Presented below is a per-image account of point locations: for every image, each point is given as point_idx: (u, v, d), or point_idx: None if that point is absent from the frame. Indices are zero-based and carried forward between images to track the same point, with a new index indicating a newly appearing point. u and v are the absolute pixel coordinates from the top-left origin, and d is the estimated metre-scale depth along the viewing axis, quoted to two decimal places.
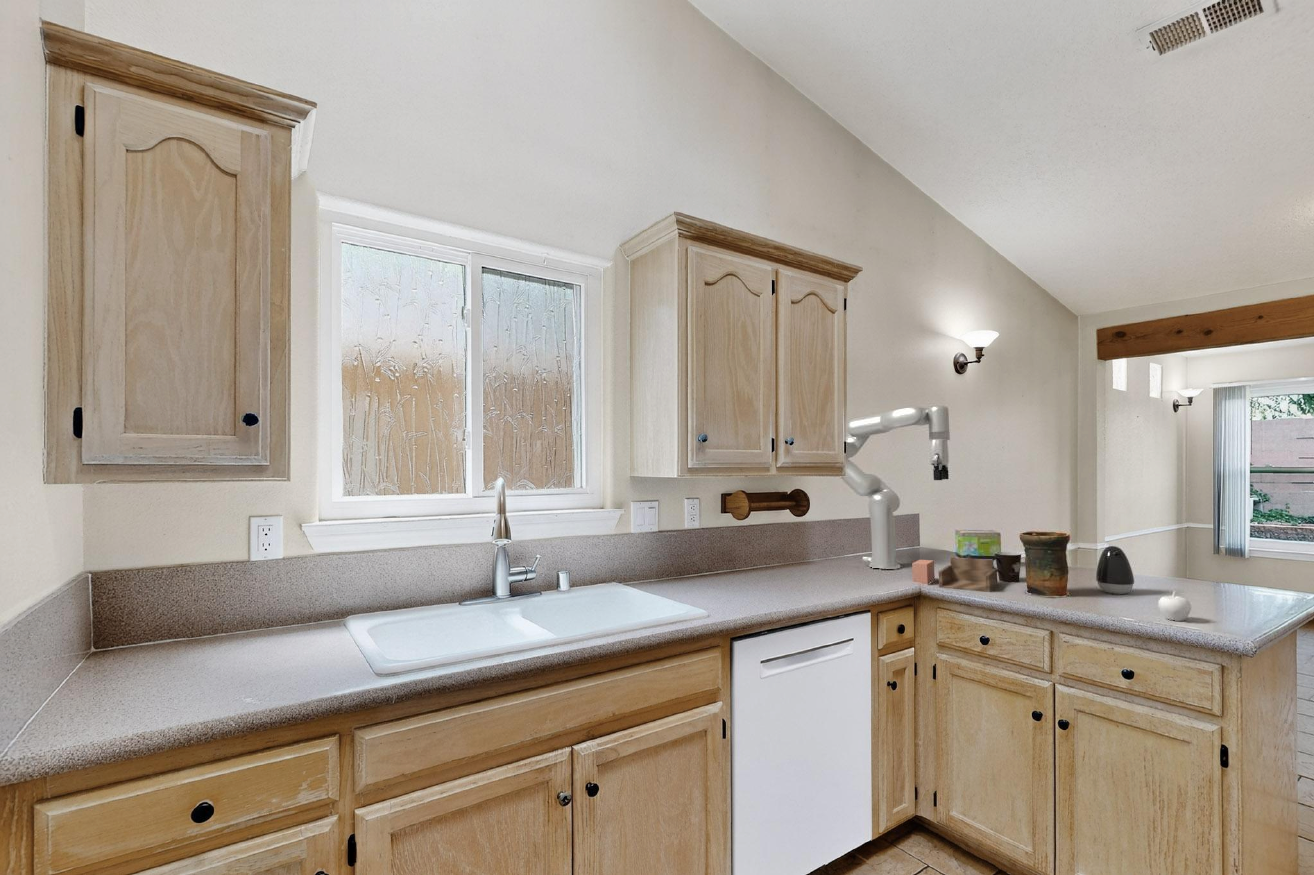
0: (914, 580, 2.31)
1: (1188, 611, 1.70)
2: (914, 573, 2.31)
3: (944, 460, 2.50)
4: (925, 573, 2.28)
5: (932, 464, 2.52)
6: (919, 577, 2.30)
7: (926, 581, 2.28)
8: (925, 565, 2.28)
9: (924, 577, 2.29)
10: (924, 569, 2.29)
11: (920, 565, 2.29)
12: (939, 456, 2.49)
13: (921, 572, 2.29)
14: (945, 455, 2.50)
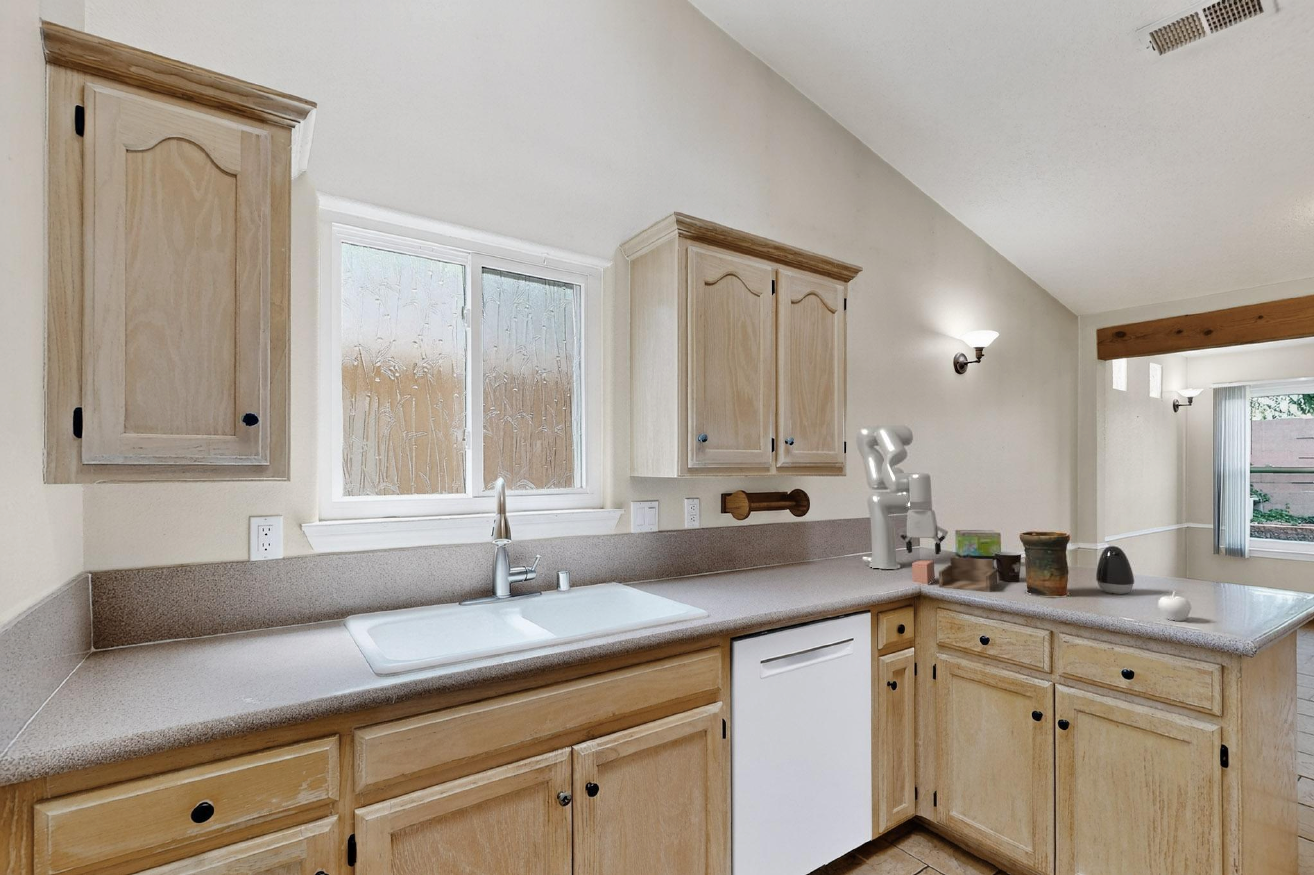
0: (914, 580, 2.31)
1: (1188, 611, 1.70)
2: (914, 573, 2.31)
3: None
4: (925, 573, 2.28)
5: None
6: (919, 577, 2.30)
7: (926, 581, 2.28)
8: (925, 565, 2.28)
9: (924, 577, 2.29)
10: (924, 569, 2.29)
11: (920, 565, 2.29)
12: None
13: (921, 572, 2.29)
14: None
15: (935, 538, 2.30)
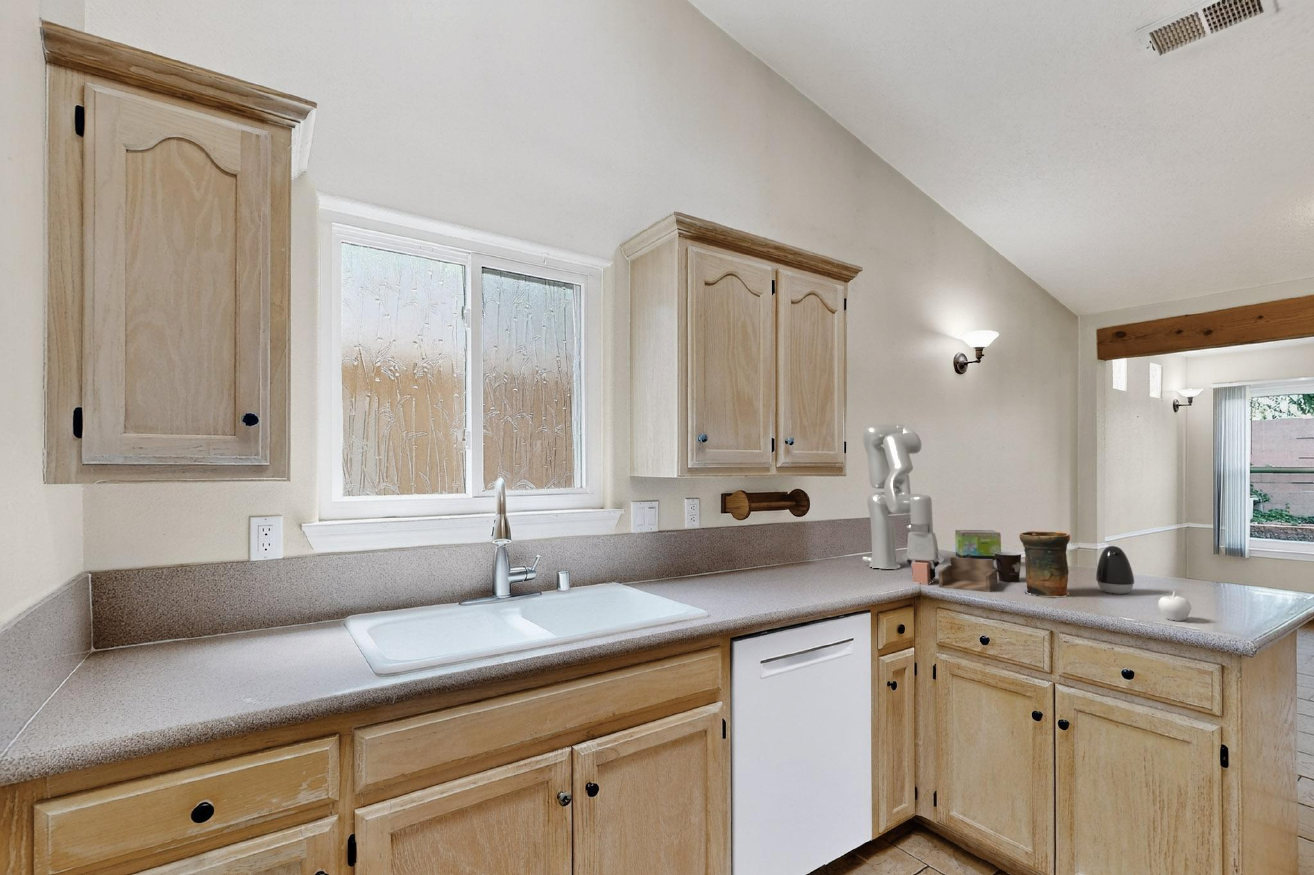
0: (914, 580, 2.31)
1: (1188, 611, 1.70)
2: (914, 573, 2.31)
3: None
4: (925, 572, 2.28)
5: (928, 560, 2.30)
6: (919, 577, 2.30)
7: (926, 581, 2.28)
8: (925, 565, 2.28)
9: (924, 577, 2.29)
10: (924, 569, 2.29)
11: (920, 565, 2.29)
12: None
13: (921, 572, 2.29)
14: None
15: (931, 563, 2.31)
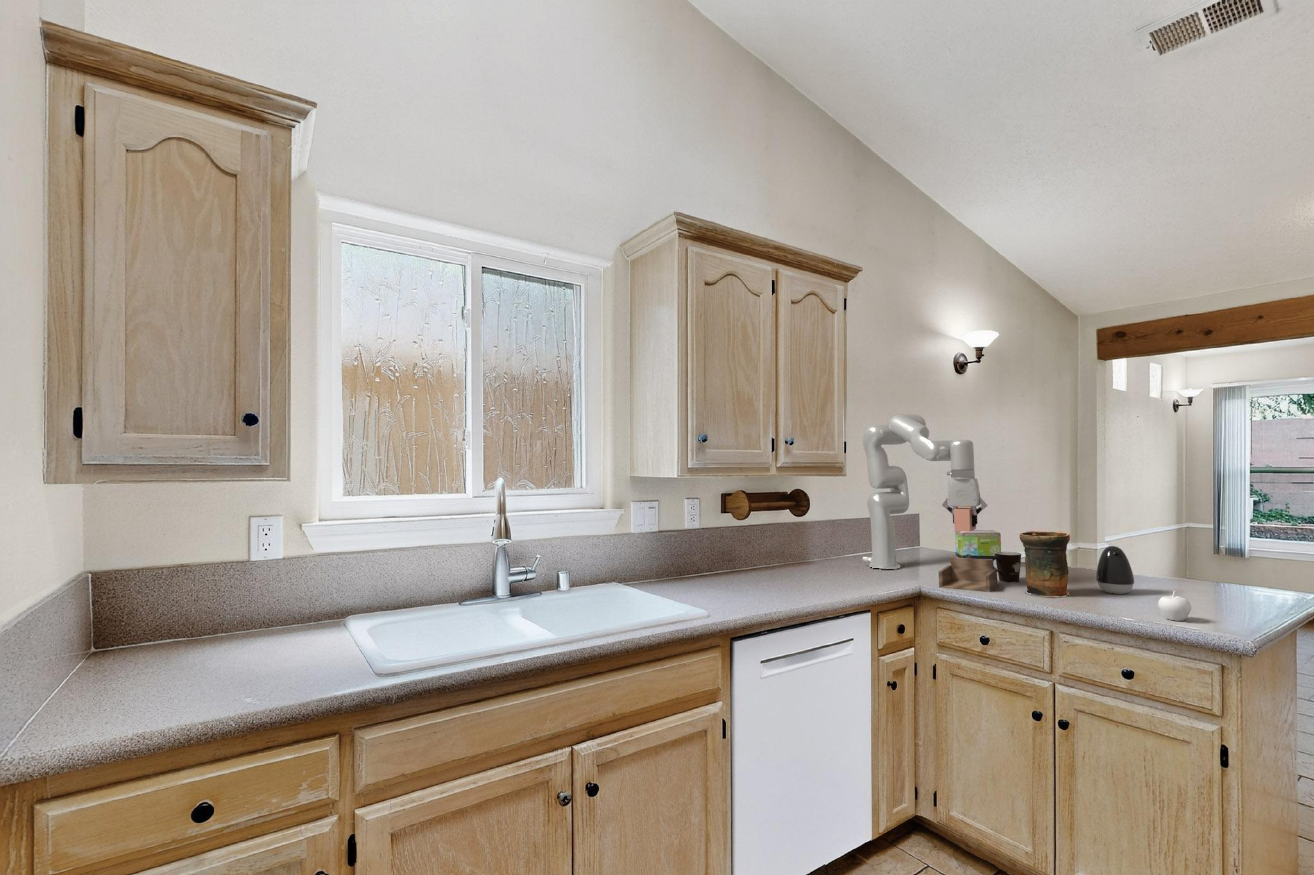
0: (955, 527, 2.22)
1: (1188, 611, 1.70)
2: (955, 519, 2.22)
3: None
4: (967, 519, 2.20)
5: (970, 506, 2.22)
6: (961, 524, 2.21)
7: (968, 527, 2.19)
8: (967, 511, 2.20)
9: (966, 523, 2.20)
10: (966, 515, 2.20)
11: (962, 511, 2.21)
12: None
13: (963, 518, 2.21)
14: None
15: (973, 509, 2.22)
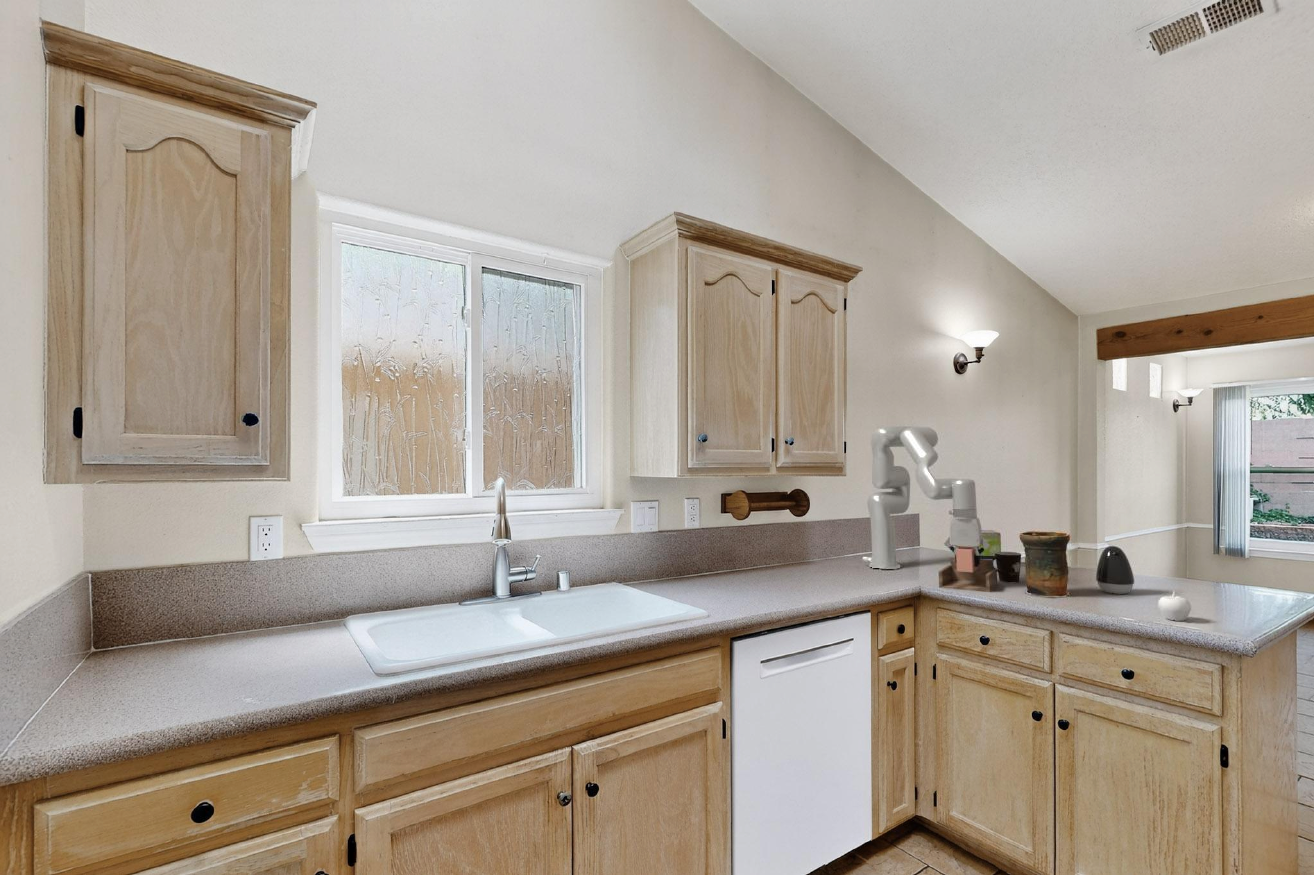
0: (958, 567, 2.21)
1: (1188, 611, 1.70)
2: (958, 560, 2.21)
3: None
4: (969, 559, 2.19)
5: (973, 546, 2.21)
6: (963, 564, 2.20)
7: (971, 568, 2.19)
8: (970, 551, 2.19)
9: (969, 564, 2.19)
10: (969, 555, 2.19)
11: (964, 551, 2.20)
12: None
13: (965, 559, 2.20)
14: None
15: (976, 549, 2.21)
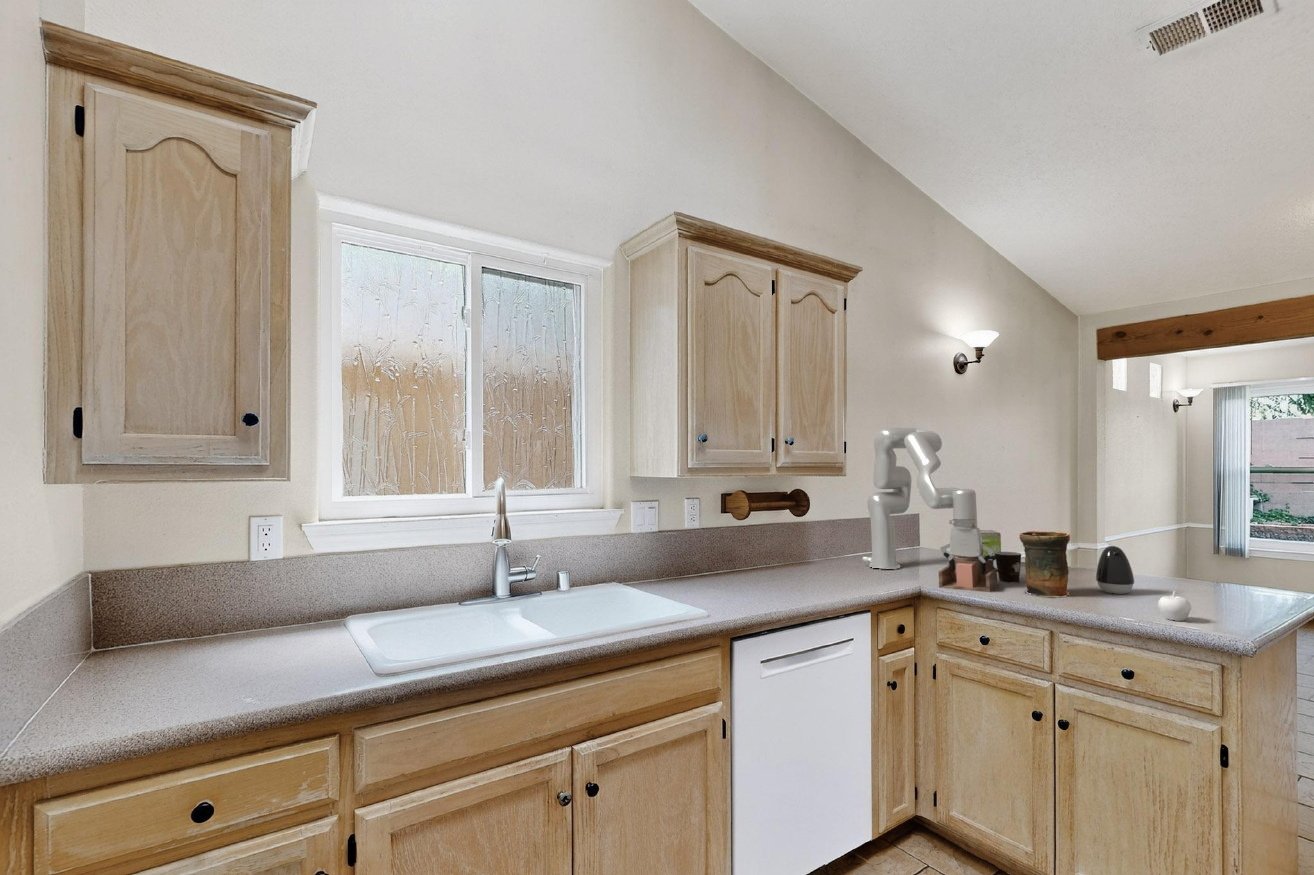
0: (958, 582, 2.21)
1: (1188, 611, 1.70)
2: (958, 575, 2.21)
3: None
4: (969, 574, 2.19)
5: (973, 556, 2.21)
6: (963, 579, 2.20)
7: (971, 583, 2.19)
8: (970, 566, 2.19)
9: (969, 579, 2.19)
10: (969, 571, 2.19)
11: (964, 566, 2.20)
12: None
13: (965, 574, 2.20)
14: None
15: (980, 557, 2.20)
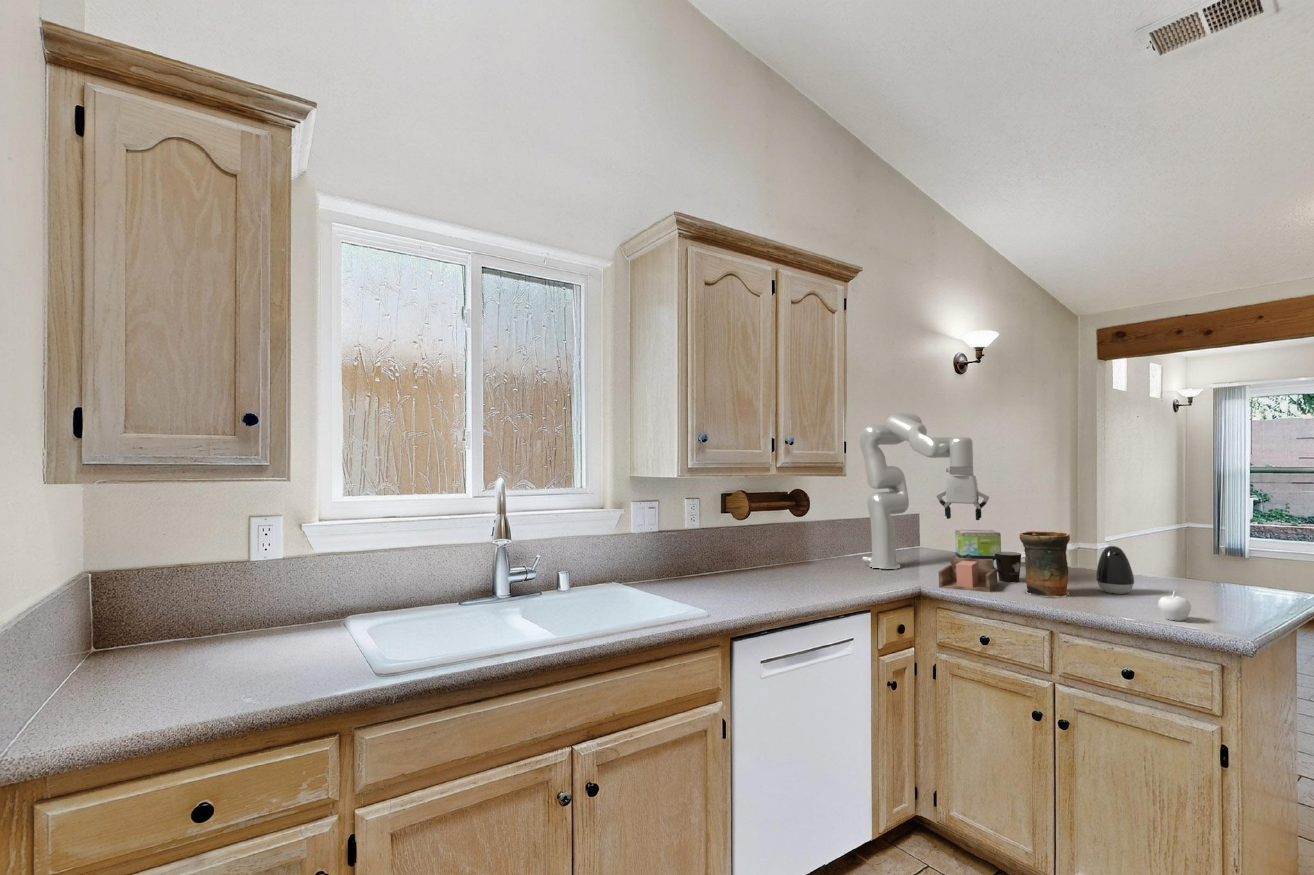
0: (958, 582, 2.21)
1: (1188, 611, 1.70)
2: (958, 575, 2.21)
3: None
4: (969, 574, 2.19)
5: (968, 502, 2.24)
6: (963, 579, 2.20)
7: (971, 583, 2.19)
8: (970, 566, 2.19)
9: (969, 579, 2.19)
10: (969, 571, 2.19)
11: (964, 566, 2.20)
12: None
13: (965, 574, 2.20)
14: None
15: (976, 504, 2.24)
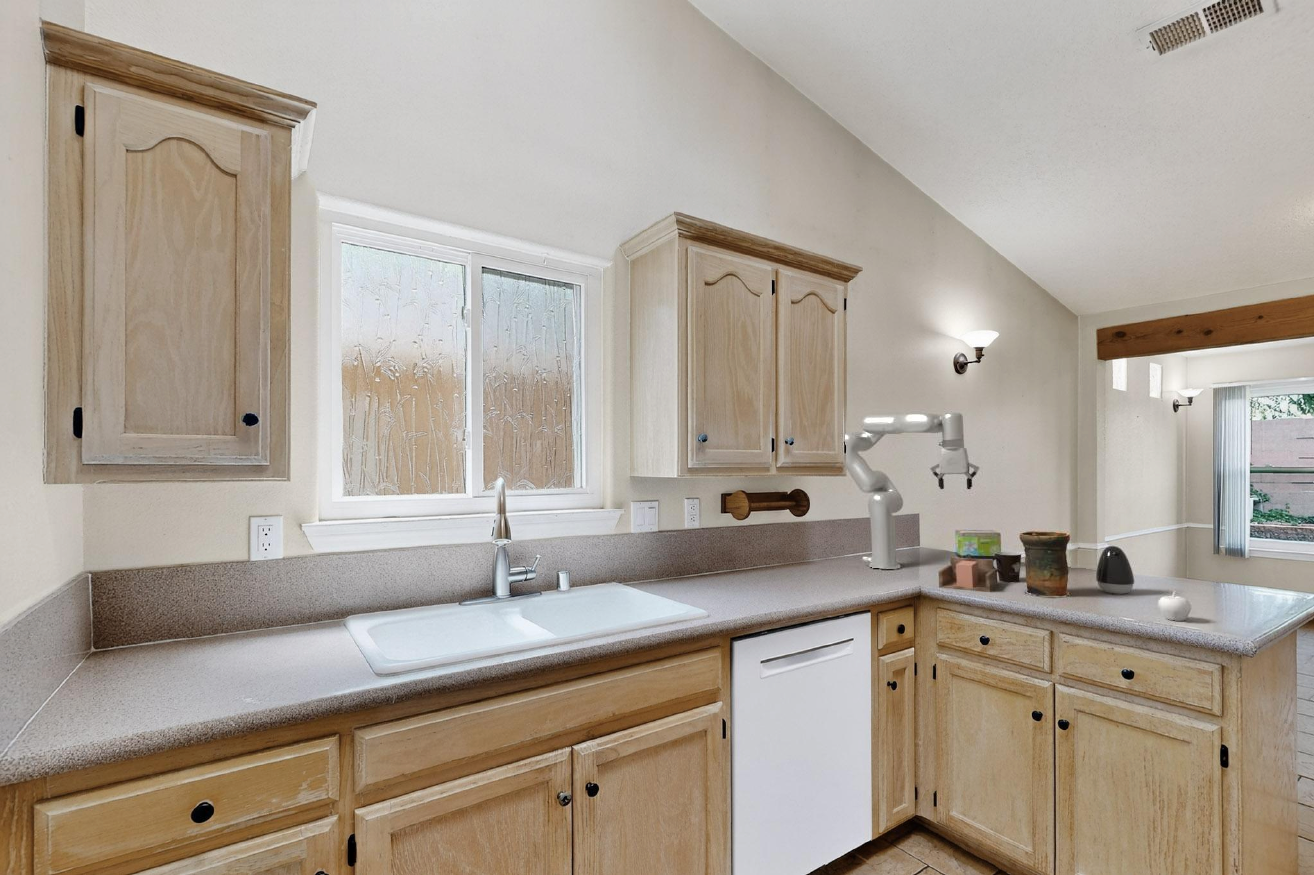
0: (958, 582, 2.21)
1: (1188, 611, 1.70)
2: (958, 575, 2.21)
3: None
4: (969, 574, 2.19)
5: (960, 473, 2.42)
6: (963, 579, 2.20)
7: (971, 583, 2.19)
8: (970, 566, 2.19)
9: (969, 579, 2.19)
10: (969, 571, 2.19)
11: (964, 566, 2.20)
12: None
13: (965, 574, 2.20)
14: None
15: (967, 474, 2.41)
